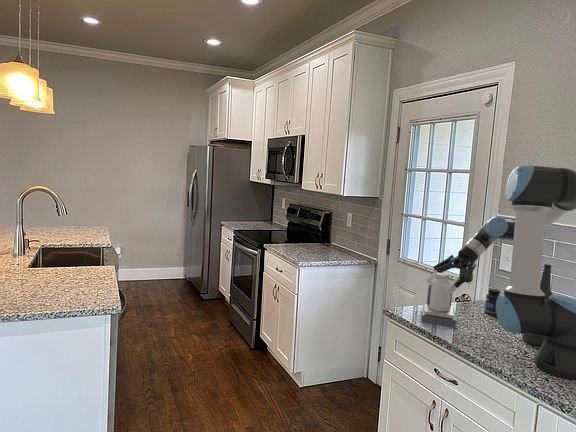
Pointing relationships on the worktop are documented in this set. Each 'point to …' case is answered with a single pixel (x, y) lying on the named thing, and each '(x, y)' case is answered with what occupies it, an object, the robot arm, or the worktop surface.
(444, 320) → the scale
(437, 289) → the pill bottle
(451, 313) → the gray flat rectangular slab
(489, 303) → the pill bottle
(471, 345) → the worktop surface
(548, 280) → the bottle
